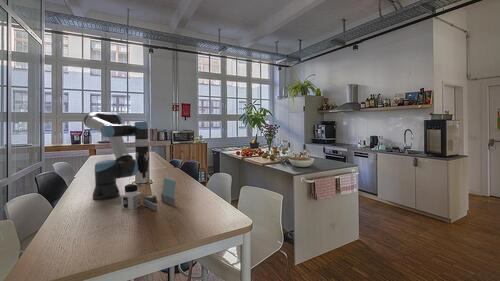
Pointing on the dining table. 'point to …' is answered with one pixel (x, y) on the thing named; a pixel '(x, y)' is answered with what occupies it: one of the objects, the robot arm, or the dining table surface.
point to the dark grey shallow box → (163, 198)
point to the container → (131, 197)
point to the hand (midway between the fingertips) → (143, 182)
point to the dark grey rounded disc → (151, 198)
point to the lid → (169, 188)
